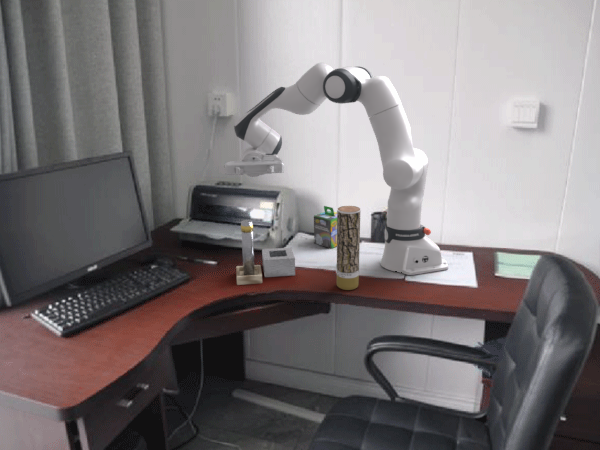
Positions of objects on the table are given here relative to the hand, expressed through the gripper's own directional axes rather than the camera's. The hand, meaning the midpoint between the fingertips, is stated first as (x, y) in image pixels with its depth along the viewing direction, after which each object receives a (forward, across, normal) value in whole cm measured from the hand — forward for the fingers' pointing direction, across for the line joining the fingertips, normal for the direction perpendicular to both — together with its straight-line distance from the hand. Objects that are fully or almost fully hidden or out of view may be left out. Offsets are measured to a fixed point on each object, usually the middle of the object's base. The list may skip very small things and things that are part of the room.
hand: (255, 171), depth 166 cm
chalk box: (-14, +28, +32) cm, 45 cm away
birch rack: (+14, -4, +32) cm, 35 cm away
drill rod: (+14, -4, +31) cm, 34 cm away
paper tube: (+25, +26, +32) cm, 48 cm away
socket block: (+9, +6, +32) cm, 34 cm away
